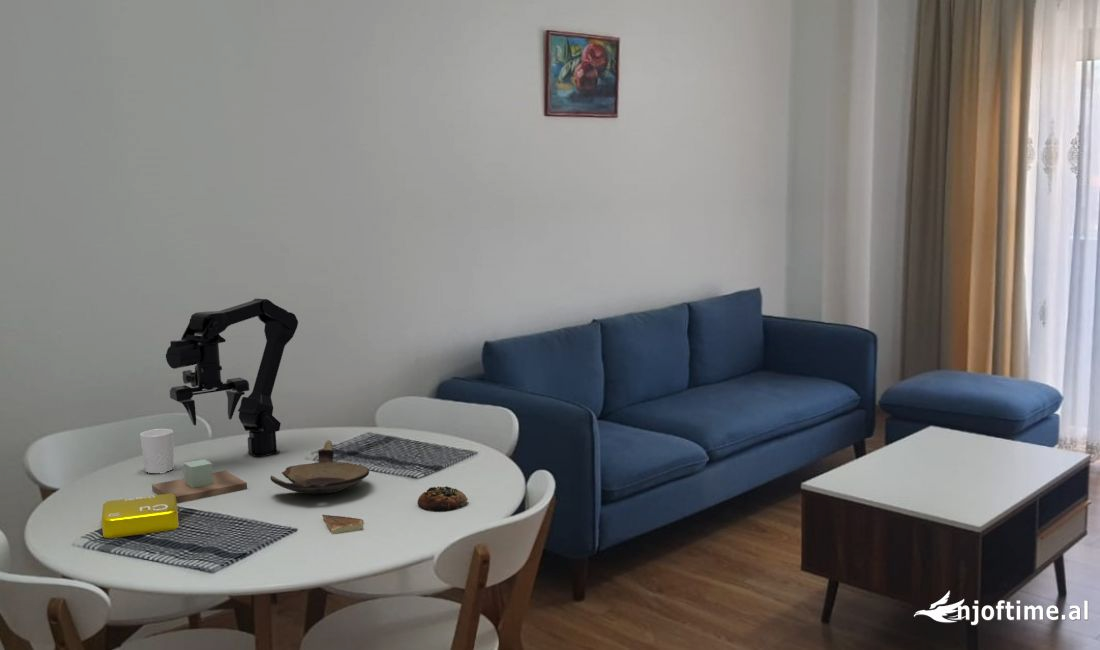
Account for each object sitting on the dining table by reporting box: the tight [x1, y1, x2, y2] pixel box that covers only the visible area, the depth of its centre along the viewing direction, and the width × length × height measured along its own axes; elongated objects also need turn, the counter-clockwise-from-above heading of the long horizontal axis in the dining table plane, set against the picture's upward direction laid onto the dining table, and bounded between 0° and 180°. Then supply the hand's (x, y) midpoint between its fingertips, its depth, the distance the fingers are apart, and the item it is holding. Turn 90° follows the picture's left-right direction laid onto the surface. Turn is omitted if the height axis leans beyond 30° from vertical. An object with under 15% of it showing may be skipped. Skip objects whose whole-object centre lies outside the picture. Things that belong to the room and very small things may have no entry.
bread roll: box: [416, 485, 469, 513], centre depth 238 cm, size 11×11×5 cm
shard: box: [322, 514, 364, 535], centre depth 225 cm, size 11×8×2 cm
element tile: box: [101, 494, 180, 539], centre depth 229 cm, size 15×15×5 cm
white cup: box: [139, 428, 175, 474], centre depth 270 cm, size 8×8×10 cm
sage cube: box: [183, 458, 214, 488], centre depth 252 cm, size 5×5×5 cm
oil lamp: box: [269, 439, 370, 495], centre depth 252 cm, size 22×30×8 cm
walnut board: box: [151, 470, 248, 504], centre depth 253 cm, size 18×14×2 cm
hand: (212, 422), depth 271 cm, fingers open, 9 cm apart
